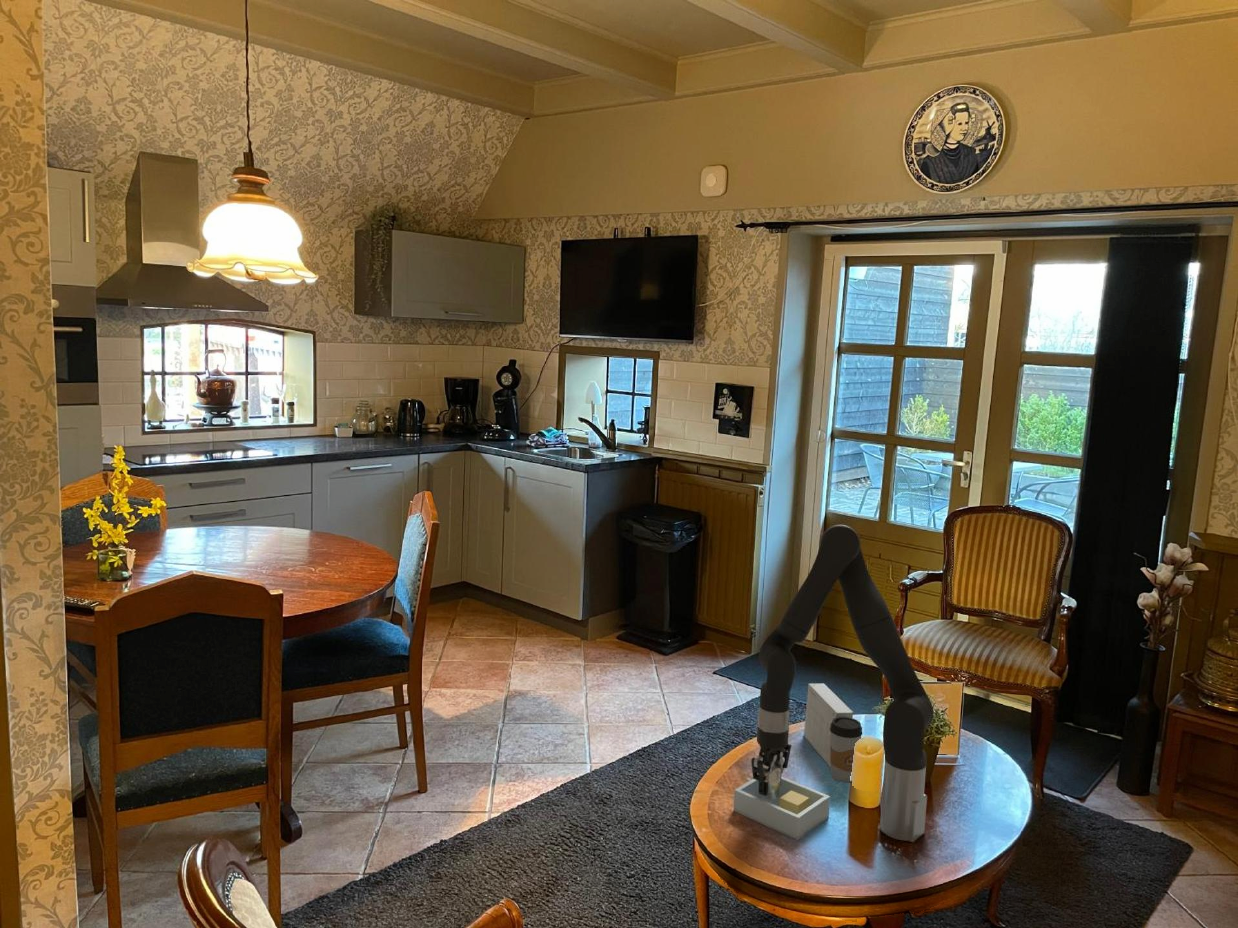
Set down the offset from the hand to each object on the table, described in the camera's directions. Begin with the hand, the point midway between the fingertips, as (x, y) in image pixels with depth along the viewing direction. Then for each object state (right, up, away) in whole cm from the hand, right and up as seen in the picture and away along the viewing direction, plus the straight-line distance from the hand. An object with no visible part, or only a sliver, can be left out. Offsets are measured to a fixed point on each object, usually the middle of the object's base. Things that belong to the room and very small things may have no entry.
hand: (769, 790), depth 227 cm
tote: (+2, -5, -2) cm, 6 cm away
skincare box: (+21, -1, +32) cm, 39 cm away
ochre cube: (+5, -5, -4) cm, 8 cm away
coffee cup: (+22, -3, +18) cm, 29 cm away
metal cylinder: (0, -1, 0) cm, 1 cm away
